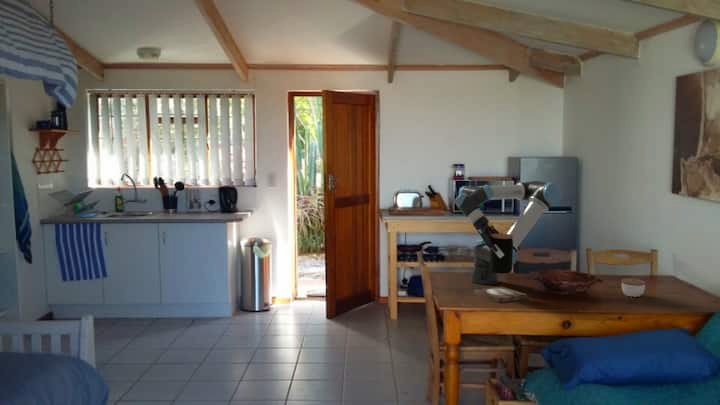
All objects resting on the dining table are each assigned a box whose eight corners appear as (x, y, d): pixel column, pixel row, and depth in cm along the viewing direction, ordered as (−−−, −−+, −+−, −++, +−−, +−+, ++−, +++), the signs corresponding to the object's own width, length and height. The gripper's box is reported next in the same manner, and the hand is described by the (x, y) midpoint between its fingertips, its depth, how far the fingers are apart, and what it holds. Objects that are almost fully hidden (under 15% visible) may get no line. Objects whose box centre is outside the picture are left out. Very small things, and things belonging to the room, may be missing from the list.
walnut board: (501, 290, 301) (501, 286, 301) (526, 298, 285) (526, 294, 285) (473, 294, 292) (473, 289, 292) (498, 302, 276) (498, 298, 276)
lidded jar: (621, 297, 290) (622, 278, 289) (619, 292, 300) (621, 274, 299) (645, 299, 286) (646, 280, 285) (643, 294, 296) (644, 276, 295)
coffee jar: (512, 270, 291) (514, 234, 289) (510, 274, 281) (512, 237, 279) (490, 268, 294) (492, 232, 292) (488, 272, 284) (489, 235, 282)
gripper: (483, 222, 304) (510, 256, 296) (462, 227, 285) (491, 263, 277) (493, 213, 300) (521, 247, 292) (473, 217, 282) (502, 253, 274)
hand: (506, 254), depth 285 cm, fingers closed on coffee jar, 11 cm apart
